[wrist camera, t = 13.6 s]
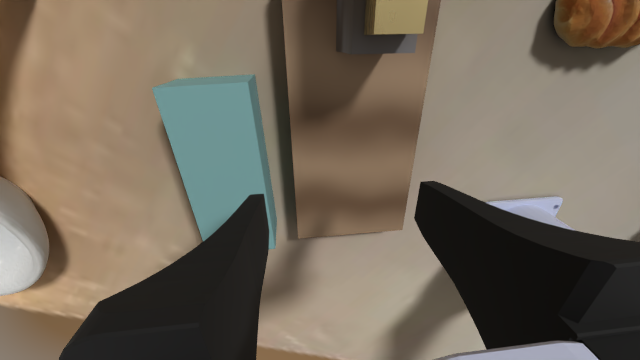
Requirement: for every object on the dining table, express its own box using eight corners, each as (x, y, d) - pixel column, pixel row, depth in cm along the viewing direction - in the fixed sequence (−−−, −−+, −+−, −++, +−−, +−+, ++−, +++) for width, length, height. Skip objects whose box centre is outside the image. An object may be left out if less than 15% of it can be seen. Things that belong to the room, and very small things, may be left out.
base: (393, 216, 24) (424, 266, 19) (297, 223, 24) (300, 278, 18) (428, -25, 16) (502, -60, 10) (280, -26, 15) (276, -64, 10)
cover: (276, 217, 23) (275, 248, 20) (219, 223, 23) (207, 256, 20) (255, 73, 18) (247, 82, 14) (179, 78, 17) (151, 88, 14)
